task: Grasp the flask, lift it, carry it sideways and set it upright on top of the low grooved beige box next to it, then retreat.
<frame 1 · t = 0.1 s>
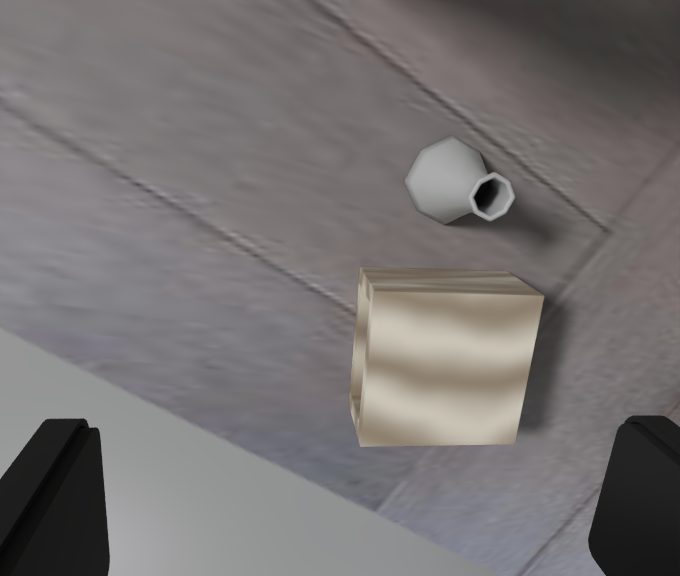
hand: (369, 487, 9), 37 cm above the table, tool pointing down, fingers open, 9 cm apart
flask: (445, 180, 45), on the table
grooved beige box: (426, 339, 50), on the table
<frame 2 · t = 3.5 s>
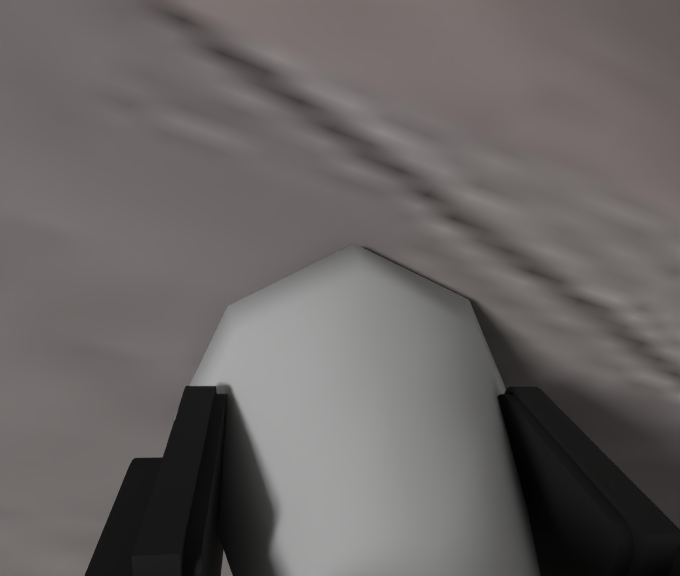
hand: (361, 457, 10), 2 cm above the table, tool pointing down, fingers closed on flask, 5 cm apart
flask: (346, 398, 12), on the table, touching gripper
when the fingers open (10 cm above the table, at t = 8.7 s): flask drops 1 cm, resting on grooved beige box.
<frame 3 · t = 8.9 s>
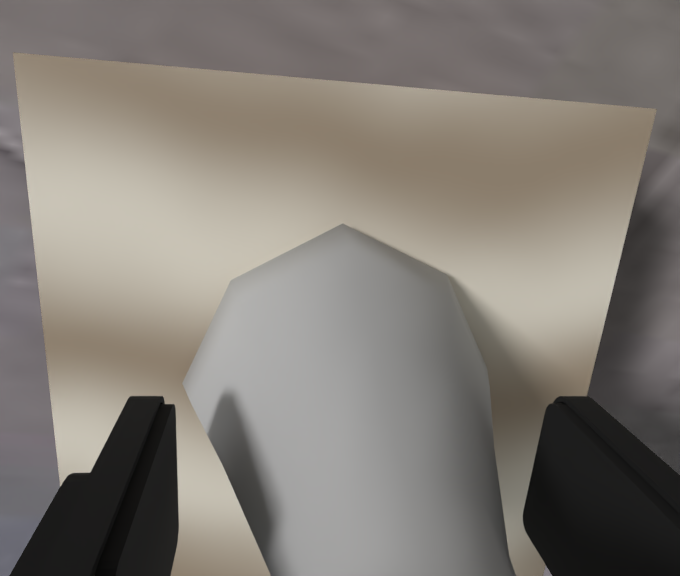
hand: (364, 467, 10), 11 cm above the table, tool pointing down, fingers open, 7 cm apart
flask: (338, 366, 13), point 7 cm above the table, touching grooved beige box
grooved beige box: (317, 290, 20), on the table
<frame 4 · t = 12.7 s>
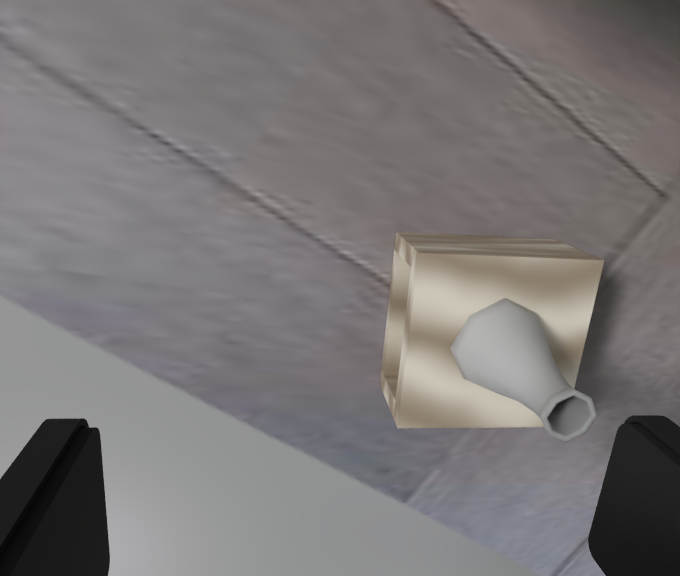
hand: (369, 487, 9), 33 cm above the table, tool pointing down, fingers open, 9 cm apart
flask: (496, 343, 39), point 7 cm above the table, touching grooved beige box
grooved beige box: (465, 313, 46), on the table
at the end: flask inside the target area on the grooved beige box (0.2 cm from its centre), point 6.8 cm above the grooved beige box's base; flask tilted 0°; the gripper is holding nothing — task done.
